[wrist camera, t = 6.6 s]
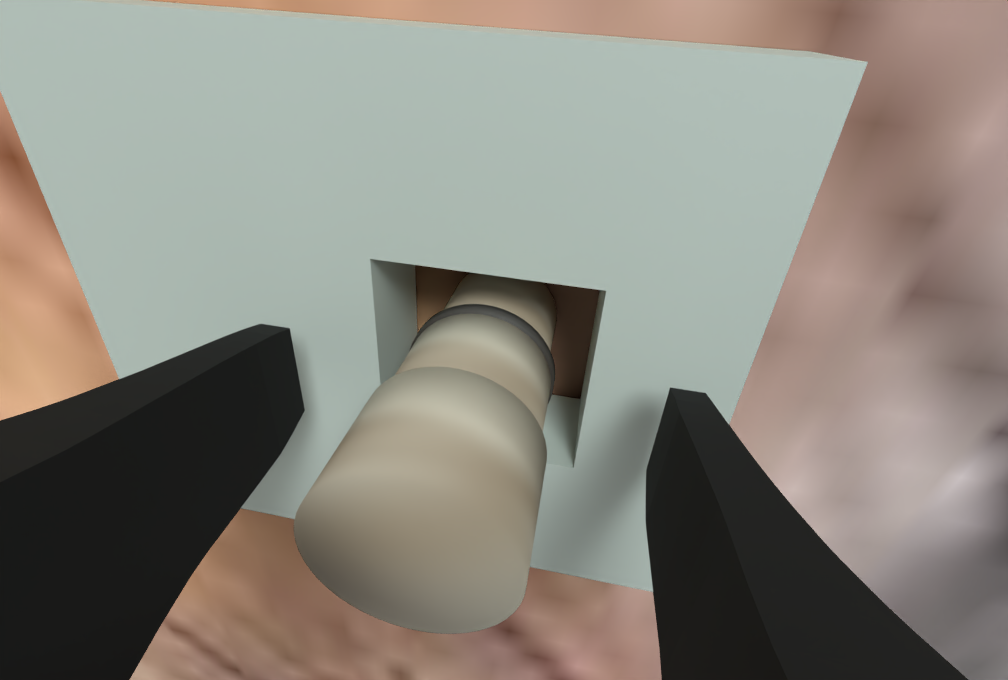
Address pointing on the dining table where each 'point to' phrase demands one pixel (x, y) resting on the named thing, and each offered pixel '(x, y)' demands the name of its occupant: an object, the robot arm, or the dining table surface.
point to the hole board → (427, 208)
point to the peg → (443, 469)
